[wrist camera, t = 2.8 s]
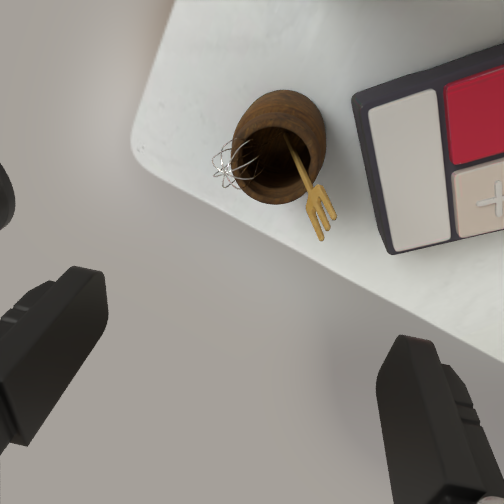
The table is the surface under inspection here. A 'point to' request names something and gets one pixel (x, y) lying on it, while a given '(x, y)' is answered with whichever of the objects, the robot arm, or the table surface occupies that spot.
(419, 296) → the table surface
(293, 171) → the utensil holder
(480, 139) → the calculator
